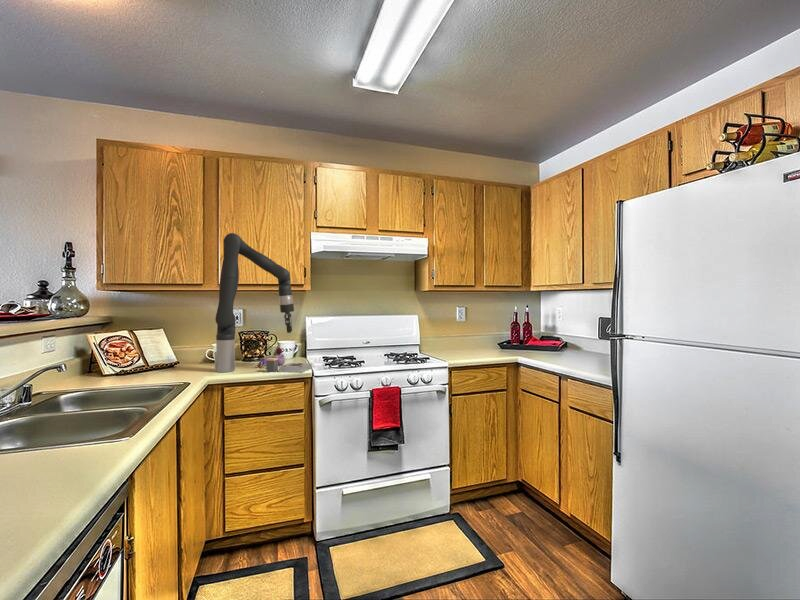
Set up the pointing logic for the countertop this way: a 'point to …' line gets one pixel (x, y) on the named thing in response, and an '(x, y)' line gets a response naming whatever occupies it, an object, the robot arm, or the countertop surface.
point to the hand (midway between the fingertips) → (289, 332)
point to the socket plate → (295, 367)
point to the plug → (271, 364)
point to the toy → (280, 357)
